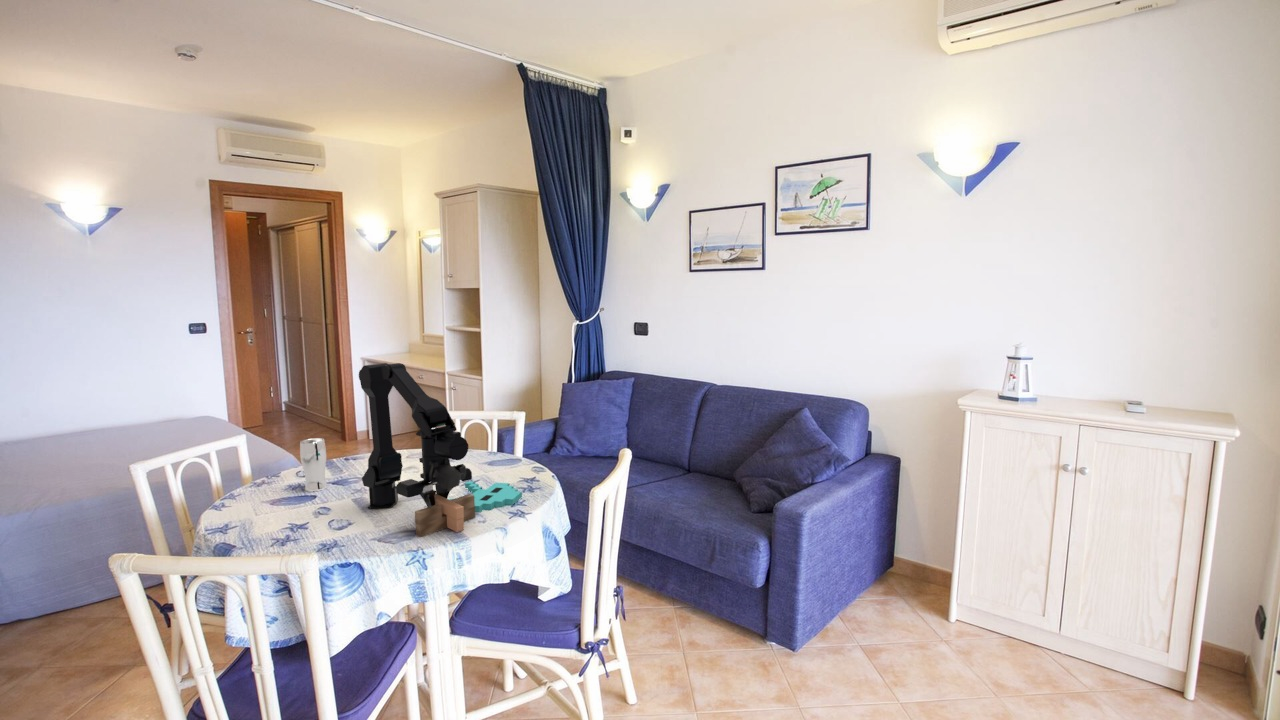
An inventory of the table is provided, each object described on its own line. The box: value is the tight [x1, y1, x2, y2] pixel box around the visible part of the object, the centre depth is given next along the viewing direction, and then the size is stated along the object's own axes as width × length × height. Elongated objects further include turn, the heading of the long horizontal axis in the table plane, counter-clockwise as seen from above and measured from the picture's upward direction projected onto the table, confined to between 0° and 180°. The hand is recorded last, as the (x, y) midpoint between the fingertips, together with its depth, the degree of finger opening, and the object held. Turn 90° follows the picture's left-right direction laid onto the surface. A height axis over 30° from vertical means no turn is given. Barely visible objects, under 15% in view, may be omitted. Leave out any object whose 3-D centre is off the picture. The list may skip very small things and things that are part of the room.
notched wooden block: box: [414, 493, 476, 538], centre depth 158 cm, size 16×2×6 cm, turn 141°
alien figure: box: [448, 480, 523, 513], centre depth 178 cm, size 20×2×20 cm
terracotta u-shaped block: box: [434, 494, 465, 533], centre depth 158 cm, size 12×2×6 cm, turn 51°
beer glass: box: [299, 437, 328, 493], centre depth 190 cm, size 7×7×15 cm
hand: (437, 513), depth 161 cm, fingers closed on terracotta u-shaped block, 2 cm apart
